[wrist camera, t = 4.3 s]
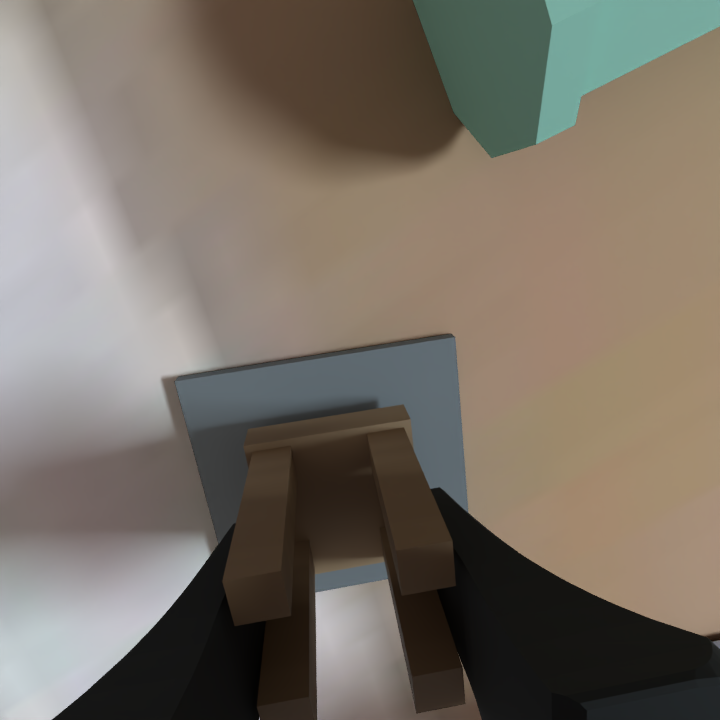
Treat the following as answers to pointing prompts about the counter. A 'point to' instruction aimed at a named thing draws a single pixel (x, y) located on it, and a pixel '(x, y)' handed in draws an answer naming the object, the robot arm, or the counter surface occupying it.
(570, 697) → the robot arm
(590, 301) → the counter surface
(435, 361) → the mat
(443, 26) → the container
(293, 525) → the stool
